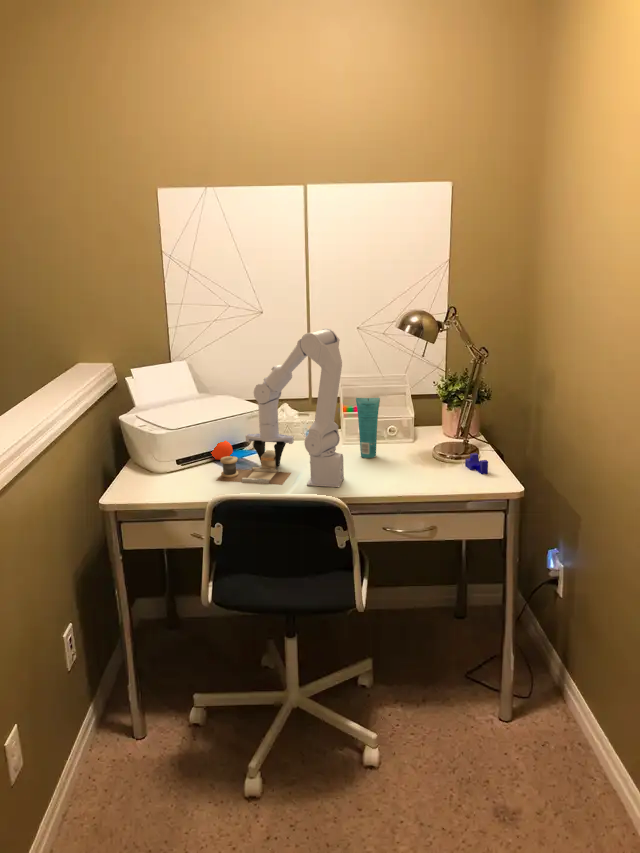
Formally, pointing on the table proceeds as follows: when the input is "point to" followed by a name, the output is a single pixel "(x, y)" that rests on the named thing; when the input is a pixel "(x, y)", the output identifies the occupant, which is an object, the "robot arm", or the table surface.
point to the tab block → (268, 459)
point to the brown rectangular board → (259, 476)
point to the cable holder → (477, 464)
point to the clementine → (222, 450)
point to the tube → (368, 425)
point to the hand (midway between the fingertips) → (270, 464)
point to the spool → (229, 466)
